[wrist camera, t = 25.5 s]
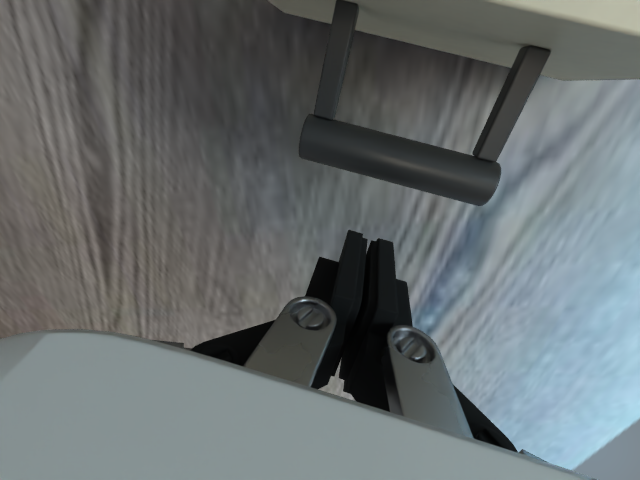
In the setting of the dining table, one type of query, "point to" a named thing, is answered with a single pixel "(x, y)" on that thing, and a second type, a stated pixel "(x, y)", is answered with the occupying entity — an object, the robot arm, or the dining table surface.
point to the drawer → (473, 42)
